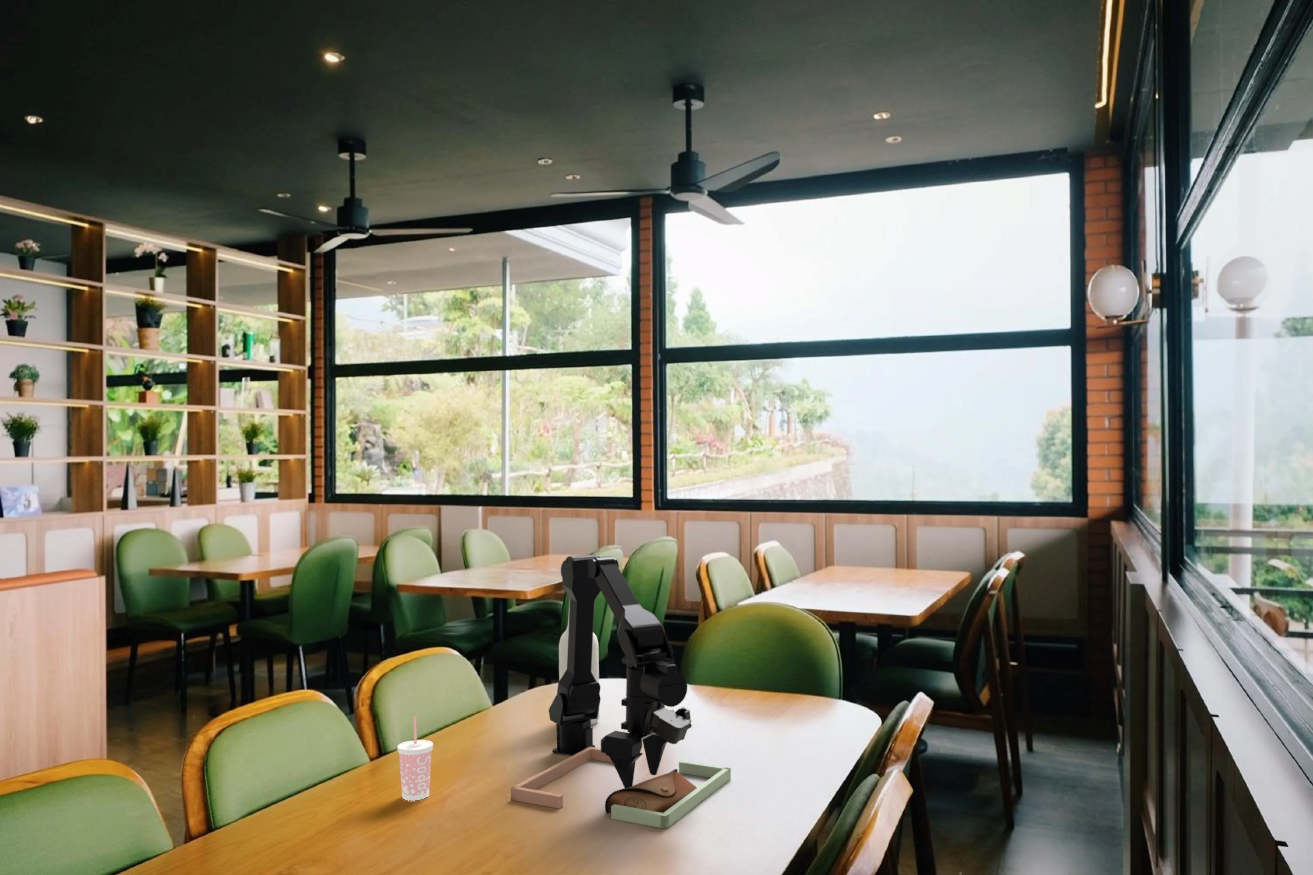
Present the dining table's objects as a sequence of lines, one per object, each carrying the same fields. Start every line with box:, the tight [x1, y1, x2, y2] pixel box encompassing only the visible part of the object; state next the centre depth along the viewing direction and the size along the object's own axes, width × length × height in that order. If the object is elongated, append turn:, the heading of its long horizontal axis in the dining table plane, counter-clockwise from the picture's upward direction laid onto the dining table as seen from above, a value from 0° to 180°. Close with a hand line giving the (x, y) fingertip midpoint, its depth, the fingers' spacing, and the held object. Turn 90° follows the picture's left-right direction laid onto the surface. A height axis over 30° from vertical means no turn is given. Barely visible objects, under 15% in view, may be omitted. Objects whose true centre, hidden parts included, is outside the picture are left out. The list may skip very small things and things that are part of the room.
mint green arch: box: [610, 760, 732, 830], centre depth 164 cm, size 10×26×2 cm, turn 152°
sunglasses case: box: [604, 768, 698, 816], centre depth 162 cm, size 18×7×7 cm
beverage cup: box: [397, 715, 434, 802], centre depth 167 cm, size 6×6×14 cm
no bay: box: [510, 746, 612, 810], centre depth 174 cm, size 10×26×2 cm, turn 153°
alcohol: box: [558, 601, 600, 727], centre depth 213 cm, size 9×9×30 cm
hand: (641, 782), depth 167 cm, fingers open, 9 cm apart
